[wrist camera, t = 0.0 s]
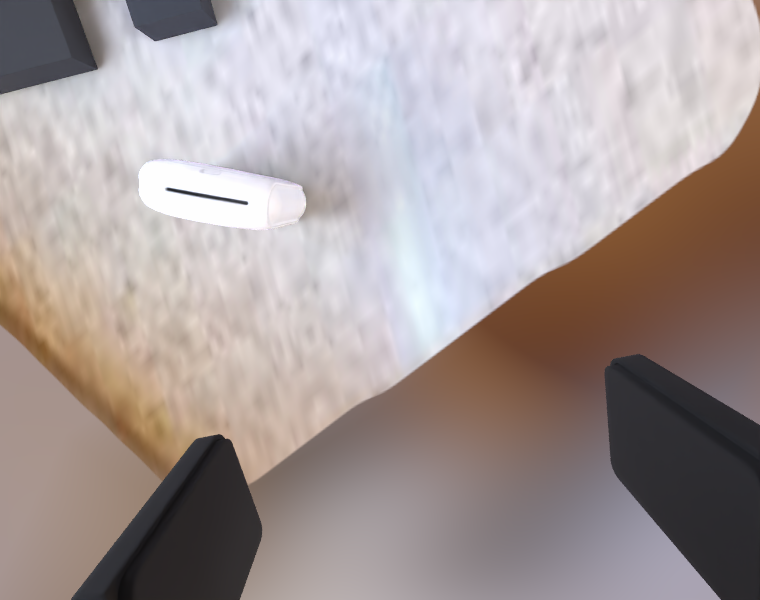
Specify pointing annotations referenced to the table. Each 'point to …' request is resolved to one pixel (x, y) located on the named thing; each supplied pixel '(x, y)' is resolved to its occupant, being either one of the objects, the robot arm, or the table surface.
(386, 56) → the table surface
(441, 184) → the table surface
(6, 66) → the base pad
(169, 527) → the robot arm
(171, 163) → the photo printer
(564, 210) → the table surface
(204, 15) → the pad
